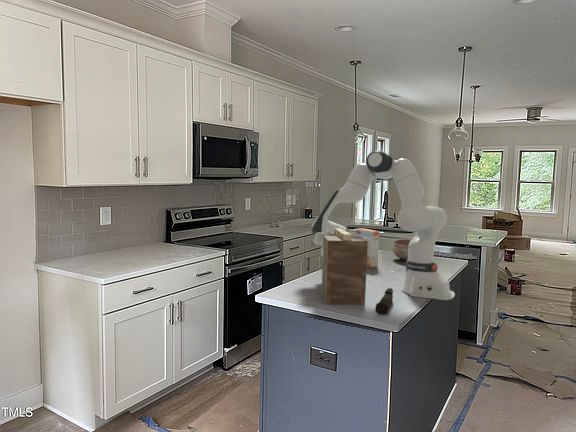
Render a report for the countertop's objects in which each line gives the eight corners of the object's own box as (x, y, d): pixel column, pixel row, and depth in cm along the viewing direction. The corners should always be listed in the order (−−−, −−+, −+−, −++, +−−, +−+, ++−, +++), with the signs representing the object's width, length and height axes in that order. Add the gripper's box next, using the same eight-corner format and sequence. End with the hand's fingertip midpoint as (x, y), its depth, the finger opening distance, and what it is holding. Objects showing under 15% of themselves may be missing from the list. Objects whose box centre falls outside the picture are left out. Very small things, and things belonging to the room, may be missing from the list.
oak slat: (334, 233, 198) (334, 227, 198) (341, 233, 198) (341, 228, 198) (343, 240, 178) (343, 234, 178) (351, 240, 178) (351, 234, 178)
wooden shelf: (321, 295, 191) (323, 236, 189) (357, 295, 193) (360, 236, 190) (325, 304, 179) (328, 240, 177) (364, 304, 181) (367, 241, 178)
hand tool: (387, 316, 167) (388, 301, 167) (374, 314, 169) (375, 299, 169) (398, 301, 188) (399, 288, 187) (386, 299, 190) (387, 286, 189)
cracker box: (378, 267, 252) (380, 230, 250) (370, 268, 248) (372, 231, 246) (361, 262, 263) (363, 227, 261) (353, 263, 260) (355, 228, 258)
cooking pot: (395, 255, 289) (396, 237, 288) (426, 258, 281) (427, 239, 280) (388, 262, 266) (389, 242, 265) (420, 265, 259) (422, 245, 257)
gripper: (311, 237, 208) (315, 225, 195) (354, 237, 209) (361, 226, 197) (312, 249, 205) (316, 238, 192) (355, 250, 207) (362, 239, 194)
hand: (339, 232), depth 195 cm, fingers open, 8 cm apart
